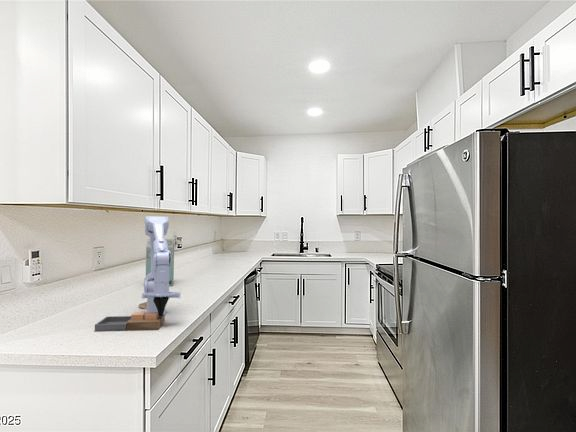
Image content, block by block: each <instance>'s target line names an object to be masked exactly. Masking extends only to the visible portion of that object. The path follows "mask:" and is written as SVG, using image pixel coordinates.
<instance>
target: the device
mask: <svg viewBox="0 0 576 432" xmlns="http://www.w3.org/2000/svg"><path fill="white" fill-rule="evenodd" d="M164 239H165V238H164ZM165 240H166V241H167V244H168V250H169V251H170V253H171V265H170V266H169V287H173V286H174V272H175V271H174V269H175V268H174V267H175V239H174V238H171V239H170V238H169V239H167V238H166V239H165ZM145 246H146V247H145V277H146V276H147V275H148V274H149V273H151V241H150V238H149V239H147V241H146V245H145ZM150 280H154V279H150Z"/></svg>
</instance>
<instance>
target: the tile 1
mask: <svg viewBox="0 0 576 432" xmlns="http://www.w3.org/2000/svg"><path fill="white" fill-rule="evenodd" d="M146 313H147V311H134V312H133V313H131V314H130V316H131V320H144V319H145V314H146Z"/></svg>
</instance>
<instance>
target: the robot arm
mask: <svg viewBox="0 0 576 432" xmlns="http://www.w3.org/2000/svg"><path fill="white" fill-rule="evenodd" d="M169 220H170V219H169V217H168V216H167V215H166V216H157V215H156V216H155V215H154V216H152V215H151V216H150V215H147V216H146V215H145V217H144V233H145V235H146V236H147V237H149V239H150V241H151V273H149V274H148V275H147V276H146V275H145V276H144V280H143V281H144V282H143V292H142V294H141V299H146V302H147V309H146V313H147V312H158V315H159V317H162V316H163V314H165V315H166V313H167V312H168V310H167V309H166V306H167V304H168V301H169V299H171V298H174V299H176V298H177V299H180V298H181V291H178V292H177V291H170V286H169V266H170V265H171V253H170V251H169V250H168V244H167V241H166V240H165V236H166V235H167V233H168V230H169V226H170V222H169ZM150 279H154V280H150Z"/></svg>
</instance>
